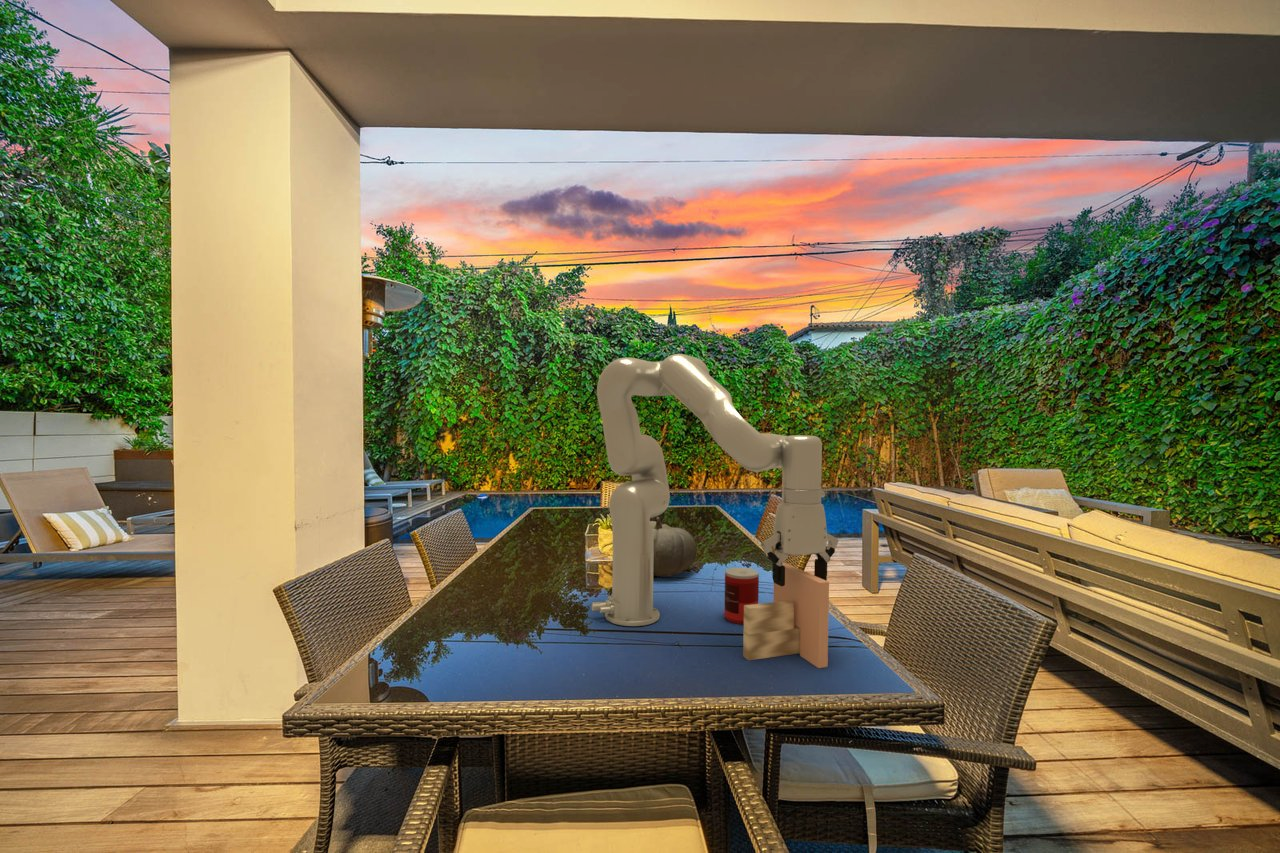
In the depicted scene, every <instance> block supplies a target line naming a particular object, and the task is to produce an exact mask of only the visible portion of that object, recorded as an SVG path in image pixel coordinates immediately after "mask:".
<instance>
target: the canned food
mask: <svg viewBox="0 0 1280 853" xmlns="http://www.w3.org/2000/svg"><path fill="white" fill-rule="evenodd" d="M759 578H760V574H759V571H758V570H756V569H755V568H754V569H753V568H749V567H743V566H742V567H737V566H736V567H731V568H728V569H726V570H725V572H724V617H725V619H726V620H727V621H728V622H730V623H733V624H737V625H744V605H752V604H759V591H760V590H759V588H760V587H759V586H760V584H759V582H760V579H759Z"/></svg>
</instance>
